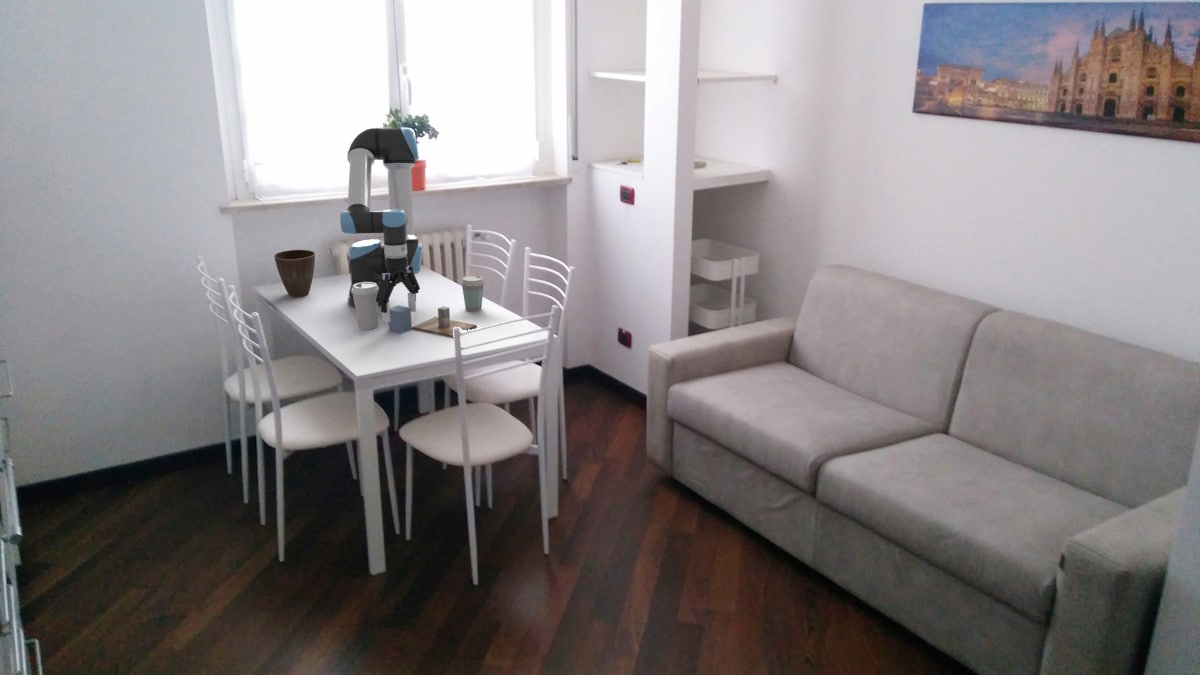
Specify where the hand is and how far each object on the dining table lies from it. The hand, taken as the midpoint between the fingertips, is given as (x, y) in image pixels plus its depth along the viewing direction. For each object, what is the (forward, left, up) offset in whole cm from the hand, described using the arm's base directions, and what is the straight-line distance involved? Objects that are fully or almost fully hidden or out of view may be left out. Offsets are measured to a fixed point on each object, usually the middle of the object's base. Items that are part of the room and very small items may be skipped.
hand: (399, 316), depth 315 cm
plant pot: (-61, +13, -5) cm, 63 cm away
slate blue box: (0, 0, -5) cm, 5 cm away
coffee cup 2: (+8, +32, -5) cm, 34 cm away
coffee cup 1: (-12, -3, -5) cm, 14 cm away
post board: (+12, +9, -5) cm, 16 cm away
